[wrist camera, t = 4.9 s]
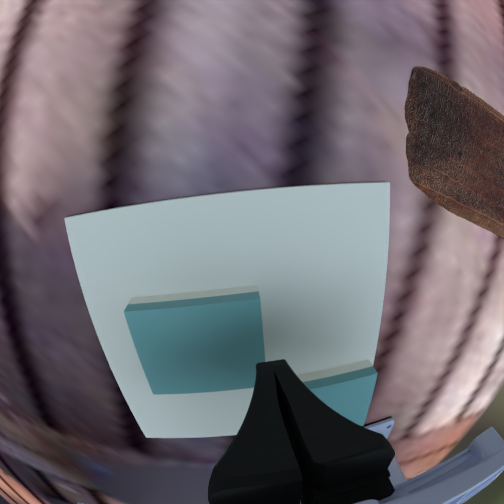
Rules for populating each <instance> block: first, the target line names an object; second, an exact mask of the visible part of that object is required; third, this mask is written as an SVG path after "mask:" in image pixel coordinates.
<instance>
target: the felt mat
mask: <svg viewBox="0 0 504 504" xmlns="http://www.w3.org/2000/svg"><path fill="white" fill-rule="evenodd" d="M64 219H65V224H66V229H67V234H68V238H69V243H70V247H71V251H72V255H73V259H74V263H75V267H76V271H77V274H78V278H79V281H80V285H81V288H82V291H83V295H84V298H85V301H86V304H87V307H88V310H89V313H90V316H91V319H92V322H93V324H94V327H95V330H96V333H97V335H98V338H99V341H100V343H101V346H102V348H103V351H104V353H105V355H106V358H107V360H108V363H109V365H110V367H111V370H112V372H113V374H114V376H115V378H116V381H117V383H118V385H119V387H120V389H121V391H122V393H123V395H124V397H125V399H126V401H127V403H128V405H129V407H130V409H131V411H132V413H133V415H134V417H135V419H136V421H137V422H138V424H139V426H140V428H141V430H142V431H143V433H144V435H145V437H146V438H197V437H216V436H229V435H237V433H238V431H239V429H240V427H241V425H242V423H243V421H244V418H245V416H246V414H247V411H248V408H249V405H250V402H251V398H252V395H253V390H254V388H246V389H237V390H228V391H217V392H204V393H188V394H159V395H153V393H152V390H151V388H150V385H149V383H148V380H147V378H146V375H145V373H144V370H143V368H142V365H141V362H140V360H139V357H138V354H137V351H136V348H135V346H134V343H133V340H132V337H131V334H130V331H129V328H128V324H127V321H126V318H125V315H124V310H125V308H126V306H127V305H128V303H129V301H130V299H131V298H134V297H146V296H157V295H168V294H178V293H188V292H198V291H207V290H216V289H225V288H234V287H243V286H251V285H257V288H258V292H259V296H260V301H261V313H262V325H263V337H264V350H265V362H267V361H274V360H281V359H285V360H286V361H287V363H288V364H289V366H290V367H291V369H292V370H293V371H294V373H295V374H296V375H299V374H304V373H310V372H315V371H320V370H325V369H329V368H334V367H339V366H343V365H347V364H352V363H356V362H360V361H364V360H368V359H369V361H370V362H371V364H372V365H373V363H374V358H375V352H376V347H377V341H378V335H379V329H380V322H381V315H382V308H383V300H384V291H385V282H386V271H387V259H388V244H389V221H390V182H361V183H337V184H319V185H303V186H289V187H276V188H264V189H253V190H243V191H233V192H224V193H215V194H207V195H198V196H190V197H183V198H175V199H168V200H161V201H154V202H148V203H141V204H135V205H129V206H123V207H117V208H111V209H106V210H100V211H95V212H89V213H84V214H79V215H74V216H69V217H66V218H64Z"/></svg>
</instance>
